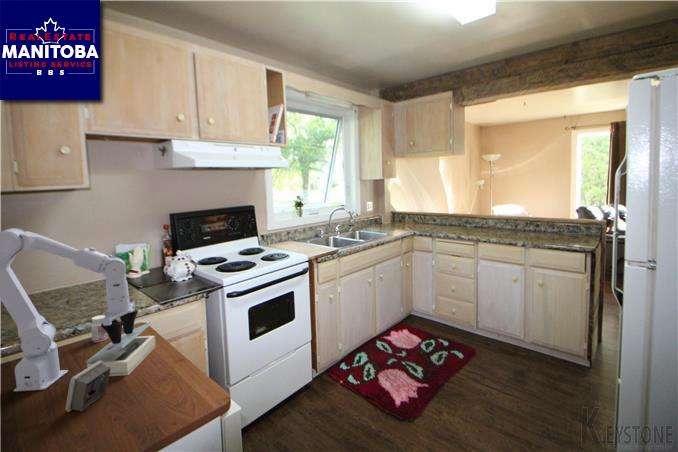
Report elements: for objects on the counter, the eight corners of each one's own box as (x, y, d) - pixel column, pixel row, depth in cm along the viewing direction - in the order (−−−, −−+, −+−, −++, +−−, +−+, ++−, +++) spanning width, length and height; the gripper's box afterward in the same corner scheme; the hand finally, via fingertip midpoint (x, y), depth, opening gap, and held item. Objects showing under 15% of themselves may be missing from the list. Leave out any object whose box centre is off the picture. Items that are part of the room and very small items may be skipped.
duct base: (128, 375, 100) (126, 362, 99) (88, 377, 99) (87, 364, 99) (155, 346, 118) (154, 335, 117) (122, 348, 117) (121, 337, 116)
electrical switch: (95, 390, 92) (95, 358, 91) (113, 393, 92) (113, 360, 91) (64, 413, 83) (63, 377, 82) (83, 416, 83) (83, 380, 82)
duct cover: (121, 337, 116) (119, 334, 116) (151, 323, 117) (149, 321, 117) (87, 364, 98) (85, 361, 98) (122, 348, 99) (121, 345, 99)
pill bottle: (100, 343, 121) (97, 320, 120) (89, 342, 122) (86, 319, 121) (111, 337, 126) (109, 315, 125) (100, 336, 127) (98, 314, 126)
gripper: (118, 303, 99) (123, 348, 101) (142, 288, 113) (147, 327, 115) (93, 305, 99) (98, 349, 100) (120, 290, 113) (125, 329, 115)
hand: (123, 338), depth 108 cm, fingers closed on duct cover, 6 cm apart
